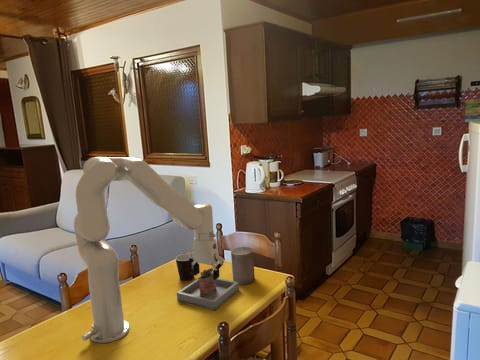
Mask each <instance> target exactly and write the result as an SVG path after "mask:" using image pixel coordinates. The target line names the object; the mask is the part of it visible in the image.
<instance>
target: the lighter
mask: <svg viewBox="0 0 480 360" xmlns="http://www.w3.org/2000/svg"><path fill="white" fill-rule="evenodd" d="M213 270H214V268H213V267H209V268H207V269H203V271H202V272H201V271H200V277H198V278H197V279H198V281H199V287H200V297H206V296H209V295H211V294H213V293H214V292H216V291H217V290H216V283H215V280H214V279H213Z"/></svg>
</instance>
